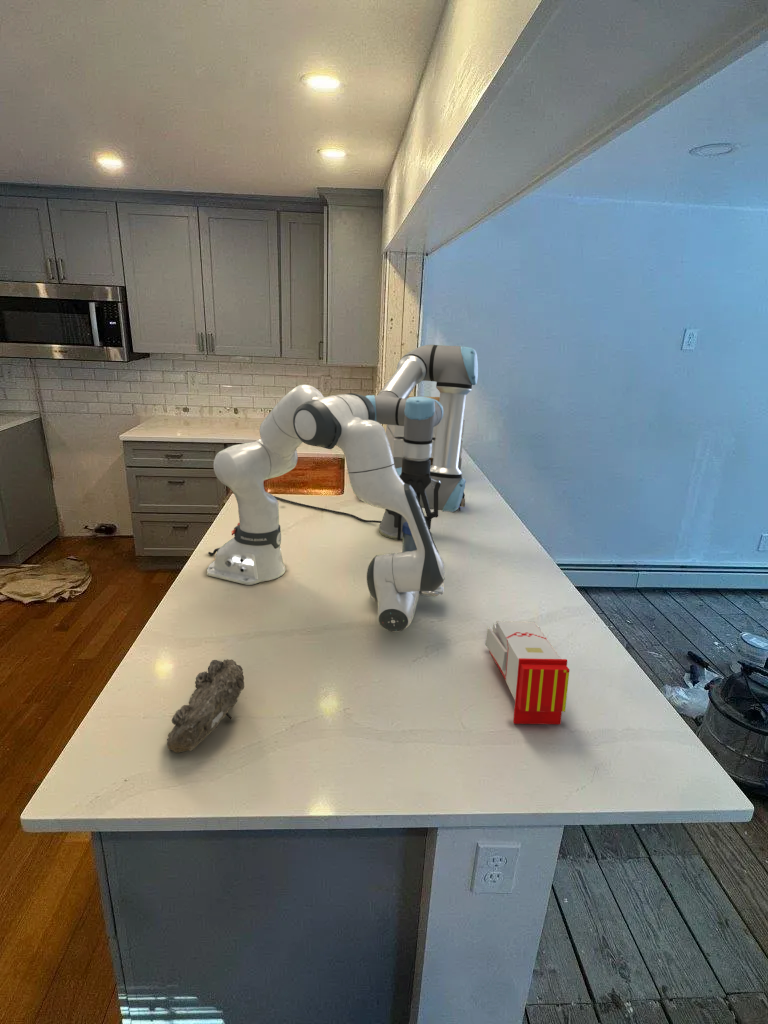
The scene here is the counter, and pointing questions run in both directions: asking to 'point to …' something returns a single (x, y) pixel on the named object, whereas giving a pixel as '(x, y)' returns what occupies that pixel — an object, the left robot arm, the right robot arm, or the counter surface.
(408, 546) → the grey long cylinder
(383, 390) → the right robot arm
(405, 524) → the lid
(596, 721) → the counter surface
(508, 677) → the toy
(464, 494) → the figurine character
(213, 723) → the fossil
